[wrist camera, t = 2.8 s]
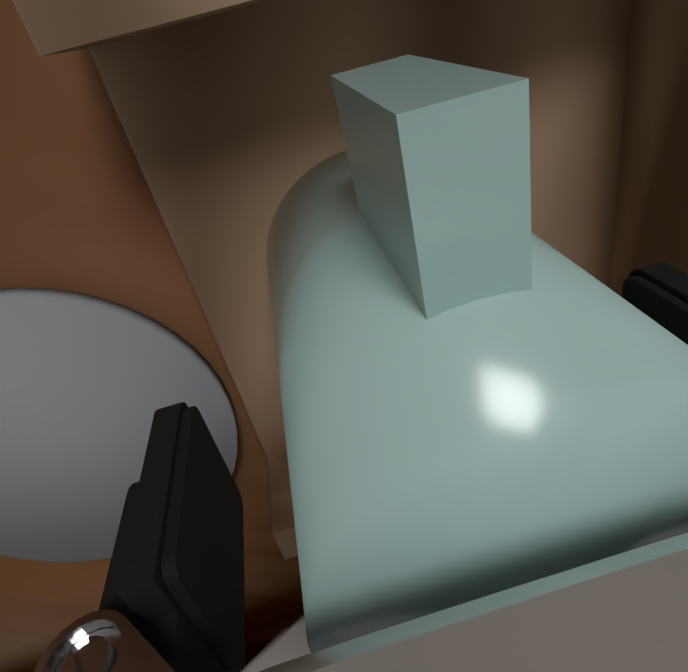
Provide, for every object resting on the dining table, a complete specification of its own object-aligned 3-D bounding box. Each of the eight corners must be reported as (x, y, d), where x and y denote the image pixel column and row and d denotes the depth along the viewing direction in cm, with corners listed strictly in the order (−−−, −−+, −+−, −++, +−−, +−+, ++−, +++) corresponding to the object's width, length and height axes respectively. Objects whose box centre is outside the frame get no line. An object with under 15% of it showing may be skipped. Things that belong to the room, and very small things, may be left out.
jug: (455, 18, 13) (1017, 9, 4) (479, 314, 18) (742, 636, 8) (203, 85, 13) (101, 261, 3) (298, 365, 17) (363, 752, 8)
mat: (159, 240, 15) (156, 248, 14) (276, 499, 22) (277, 510, 21) (-244, 352, 15) (-261, 364, 14) (-1, 580, 21) (-7, 593, 21)
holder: (691, -192, 12) (867, -275, 8) (626, 371, 21) (699, 437, 18) (62, -28, 11) (-12, -48, 8) (277, 472, 21) (284, 559, 17)
